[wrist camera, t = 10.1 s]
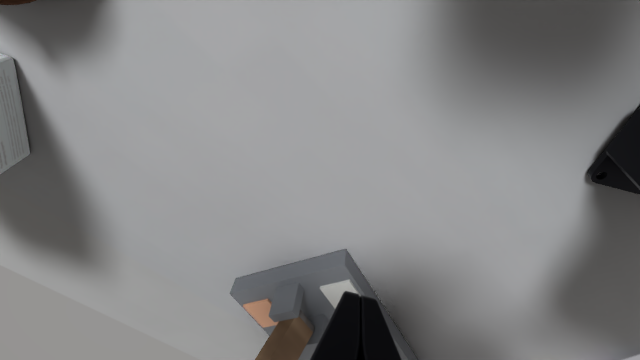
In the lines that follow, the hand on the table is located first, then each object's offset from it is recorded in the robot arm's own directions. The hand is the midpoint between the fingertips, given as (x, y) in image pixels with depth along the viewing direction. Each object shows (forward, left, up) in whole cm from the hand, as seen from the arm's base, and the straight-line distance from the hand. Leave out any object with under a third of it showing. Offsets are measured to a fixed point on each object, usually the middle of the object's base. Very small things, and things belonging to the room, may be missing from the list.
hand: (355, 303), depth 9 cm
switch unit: (-4, +22, -13) cm, 26 cm away
